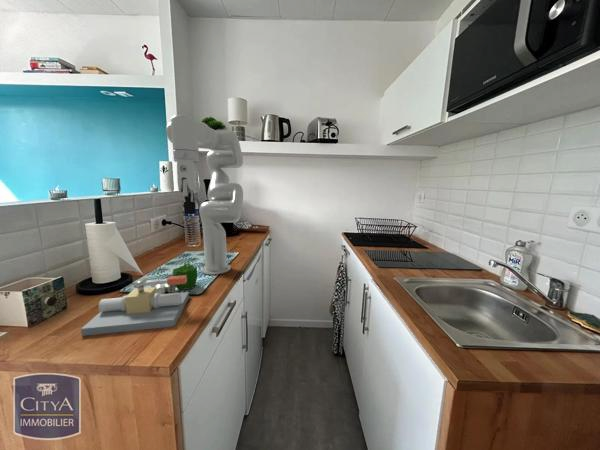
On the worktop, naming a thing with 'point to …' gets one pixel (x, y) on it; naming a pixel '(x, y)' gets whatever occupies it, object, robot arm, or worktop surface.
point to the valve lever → (160, 282)
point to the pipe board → (137, 312)
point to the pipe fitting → (164, 288)
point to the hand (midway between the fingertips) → (190, 213)
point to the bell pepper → (191, 276)
